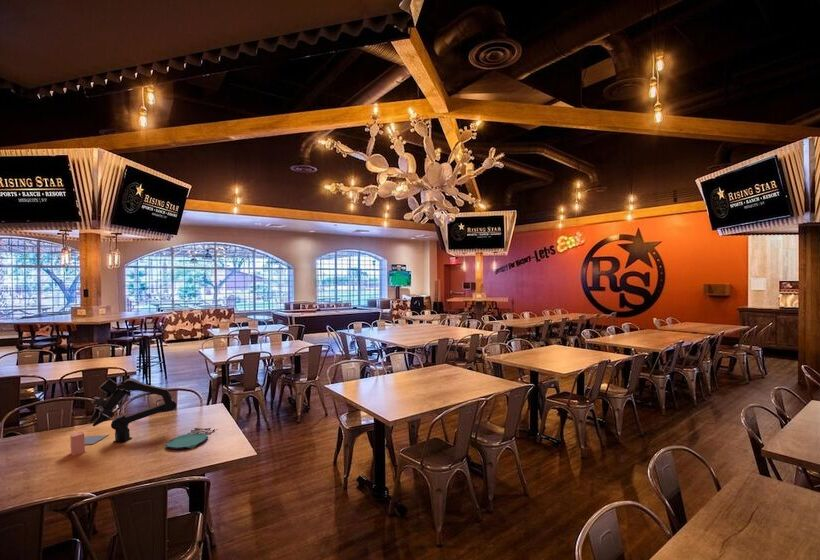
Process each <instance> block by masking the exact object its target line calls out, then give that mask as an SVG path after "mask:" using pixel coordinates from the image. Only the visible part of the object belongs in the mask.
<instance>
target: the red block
mask: <svg viewBox="0 0 820 560" xmlns="http://www.w3.org/2000/svg"><path fill="white" fill-rule="evenodd" d="M84 437H85V432H84V431H78V432H75V433H71V434H70V439H69V440H70V454H71V455H72V456H73V457H74V456H77V455H81V454H84V453H86V445H85V440H84Z"/></svg>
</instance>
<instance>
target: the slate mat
mask: <svg viewBox="0 0 820 560" xmlns="http://www.w3.org/2000/svg"><path fill="white" fill-rule="evenodd" d="M107 437H109V434H104V435H101V434H100V435H86V436H84V440H85V446H93V445H95V444H97V443H98V442H101V441H103V439H106V438H107Z"/></svg>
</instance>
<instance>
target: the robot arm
mask: <svg viewBox="0 0 820 560" xmlns="http://www.w3.org/2000/svg"><path fill="white" fill-rule="evenodd" d="M98 389H99V390H101V391H102V392H104V393H105V394H107V395H110V394H111V395H110V396H107V397H106V398H104V397H97V396H94V397H93V399H92V400H91V404H92V405H94V408H93V409H94V412H93V414H92V415H91V417H90V419H89V421H88V422H89V423H92V422H93V423H92V427H96V426H98V425H99V424H102V423H103V422H105V421H108V420H110V419H112V421H111V424H110V427H111V429H113V430H114V440H113V441H112V443H120V444H122V443H124V442H127V441H129V440H132V439H133V437H132V436H130V428H129V425H130V424H131V423H133V422H136V421H138V420H141V419H144V418H147V417H150V416H152V415H156V414H158V413H166V412H171V411H174V410H175V409H176V407H177V401H176V399H174V398H172V395H171V393H170V391H169V389H168V388H165V387H159V386H155V385H150V384H147V383H143V382H141V381H139V380H137V379H134V378H132V377H131V378H127V379H126V380H124V381H121V382H115V380H113V379H111V378H108V379H107V380H106V381H105V382H103V383H102V384H101V385H100V386H99V388H98ZM138 391H140V392H144V393H149V394H152V395H158V396H161V397H162V400H163V401H162V402H161V403H159V404H157V405H154V406H152V407H148V408H145V409H143V410H140V411H137V412H134V413H131V414H127V413H126V412H123V413H121V414H117V415H116V416H115V411H114V409H115V408H116V407H117V406H119V405H120V402H122V400H123V399H124V398H125V397H126V396H129V397H131V395H132V394H131V392H138ZM113 417H114V418H113Z"/></svg>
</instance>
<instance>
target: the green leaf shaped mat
mask: <svg viewBox="0 0 820 560" xmlns="http://www.w3.org/2000/svg"><path fill="white" fill-rule="evenodd" d="M211 428H212V427H208V428H205V429H207V430H208V429H209V430H210V429H211ZM194 429H203V428H201V427H200V428H199V427H194ZM194 429H191V430H190V432H187V433H186V434H182V435H181V434H180V435H178V436H176V437H173V439H172V438H171V439H170V440H169V441H168V442H166V443H165V447H166V448H167V449H168V448H170V449H174V450H181V449H186V448H188V449H190V450H192V448H193V449H195V448H196V446H198V445H200V444H202V443H205V441H207V439H208V438H209V435H211V434H210V433H207V432H200V431H201V430H194ZM214 432H215V430H214V431H212V433H214ZM190 433H191V434H190ZM199 433H200V434H199Z"/></svg>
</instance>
